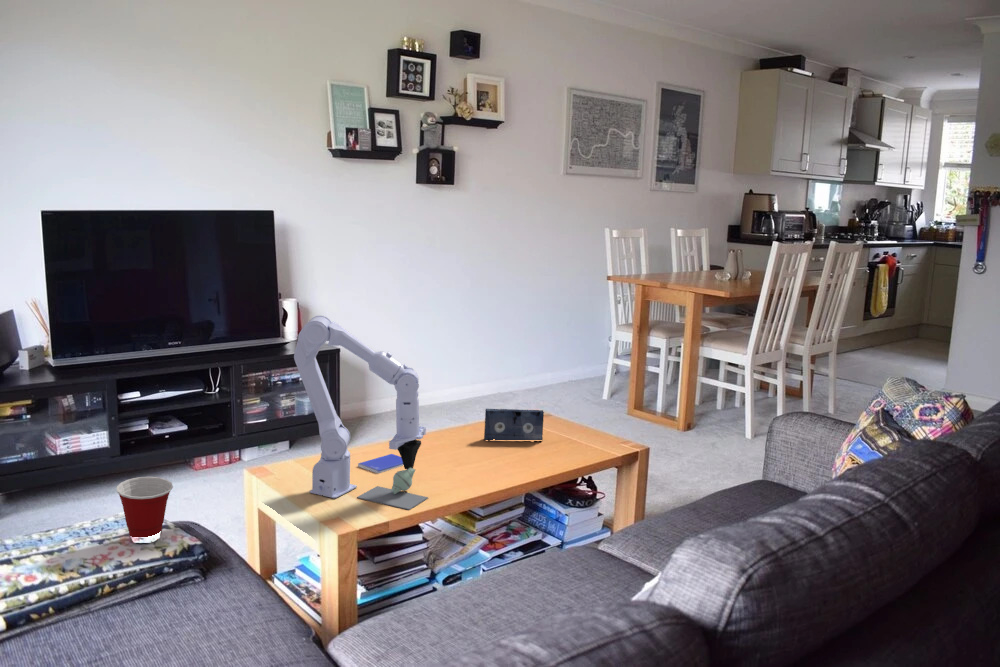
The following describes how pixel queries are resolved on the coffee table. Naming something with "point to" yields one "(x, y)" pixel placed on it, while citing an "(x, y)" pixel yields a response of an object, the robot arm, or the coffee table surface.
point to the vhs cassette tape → (513, 424)
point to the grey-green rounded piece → (402, 480)
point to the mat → (393, 498)
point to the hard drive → (382, 463)
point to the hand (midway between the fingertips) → (408, 469)
